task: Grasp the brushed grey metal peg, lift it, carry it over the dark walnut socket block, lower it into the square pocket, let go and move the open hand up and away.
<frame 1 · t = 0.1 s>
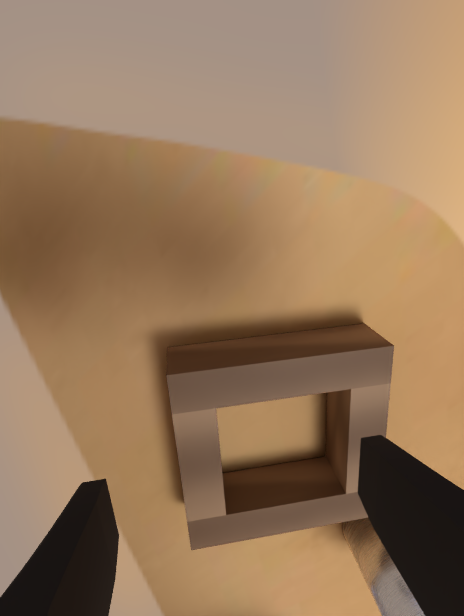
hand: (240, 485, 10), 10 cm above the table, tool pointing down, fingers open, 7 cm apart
metal peg: (372, 523, 26), on the table
walnut socket block: (272, 419, 22), on the table
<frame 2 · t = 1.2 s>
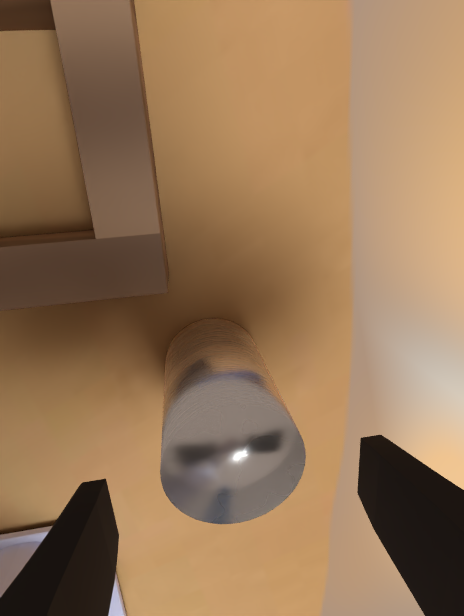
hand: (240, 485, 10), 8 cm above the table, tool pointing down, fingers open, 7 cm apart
metal peg: (212, 361, 18), on the table
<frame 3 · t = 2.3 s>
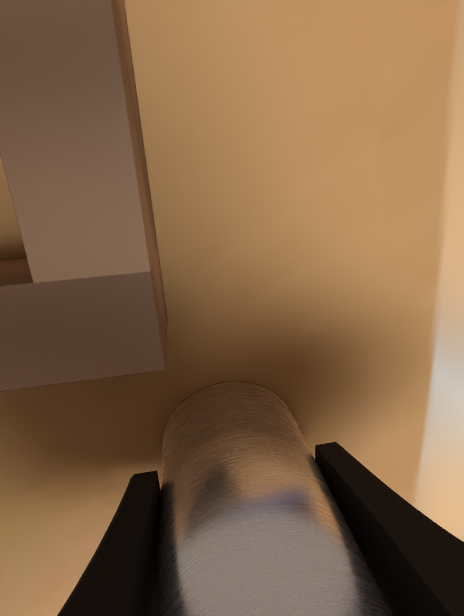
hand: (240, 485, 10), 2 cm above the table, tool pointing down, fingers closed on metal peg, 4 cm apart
metal peg: (230, 440, 12), on the table, touching gripper
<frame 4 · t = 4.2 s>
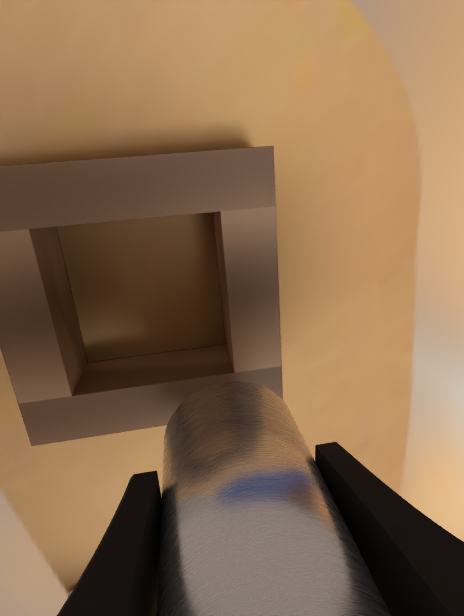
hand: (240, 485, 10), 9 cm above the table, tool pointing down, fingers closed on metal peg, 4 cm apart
metal peg: (230, 438, 12), point 7 cm above the table, touching gripper
walnut socket block: (147, 288, 17), on the table
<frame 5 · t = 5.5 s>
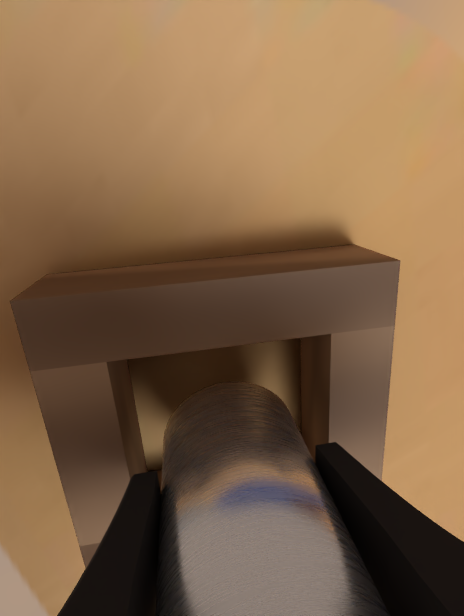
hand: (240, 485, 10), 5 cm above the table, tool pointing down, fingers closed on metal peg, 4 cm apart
metal peg: (230, 439, 12), point 3 cm above the table, touching gripper
walnut socket block: (220, 392, 15), on the table
when the fingers open (4 cm above the table, at t = 6.3 s): metal peg drops 1 cm, resting in walnut socket block.
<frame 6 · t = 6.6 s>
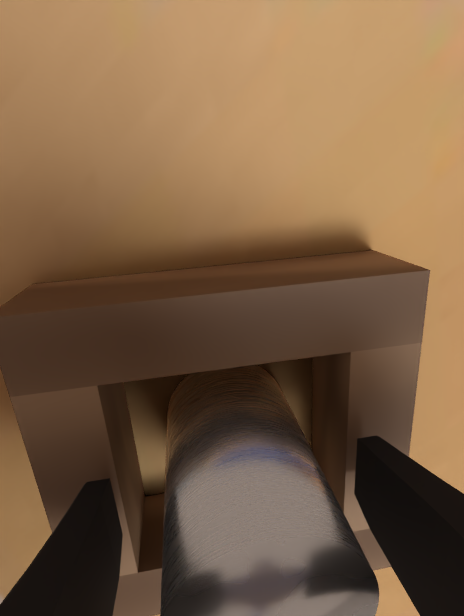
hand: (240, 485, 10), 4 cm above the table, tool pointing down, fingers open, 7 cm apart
metal peg: (226, 412, 14), resting in walnut socket block
walnut socket block: (224, 410, 14), on the table
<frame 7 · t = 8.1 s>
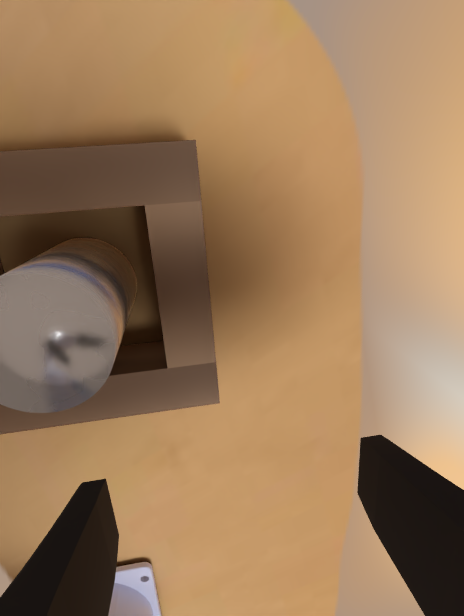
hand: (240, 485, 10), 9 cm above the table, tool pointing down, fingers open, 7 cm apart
metal peg: (88, 284, 17), resting in walnut socket block
walnut socket block: (86, 282, 17), on the table
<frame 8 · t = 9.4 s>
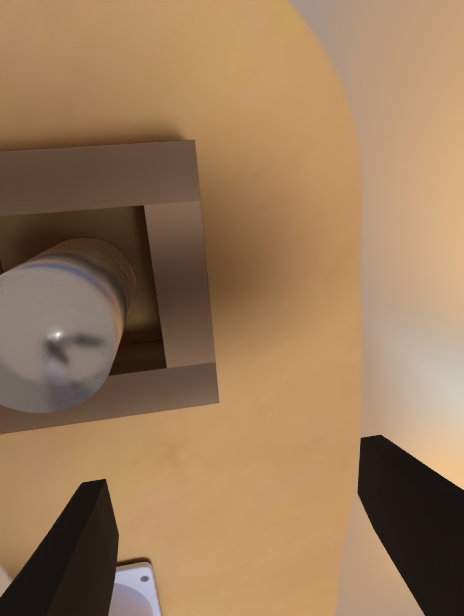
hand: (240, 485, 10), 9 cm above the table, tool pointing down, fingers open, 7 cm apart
metal peg: (88, 284, 17), resting in walnut socket block
walnut socket block: (85, 282, 17), on the table
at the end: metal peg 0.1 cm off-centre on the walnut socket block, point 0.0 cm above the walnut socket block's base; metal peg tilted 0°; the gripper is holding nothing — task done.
